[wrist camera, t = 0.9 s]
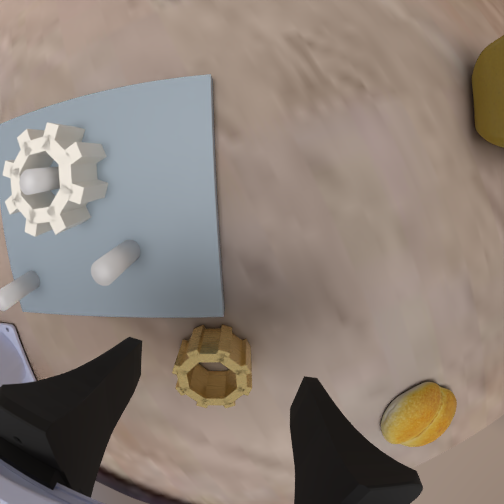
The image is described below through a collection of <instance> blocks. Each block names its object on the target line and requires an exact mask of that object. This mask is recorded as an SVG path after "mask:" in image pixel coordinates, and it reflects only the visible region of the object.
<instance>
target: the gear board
mask: <svg viewBox="0 0 504 504" xmlns="http://www.w3.org/2000/svg"><path fill="white" fill-rule="evenodd" d="M47 122H49V123H56V124H62V125H69V126H75V127H79V128H83V129H85V132H84V135H83V138H82V142H86V143H97V144H102V147H103V149H104V151H105V154H106V156H107V157H106V158H104V159H103V160H101V161H99V162H98V163H96V165H97V179H98V180H101V181H104V182H107V183H108V187H107V190H106V194H105V198H101V199H98V200H94V201H91V202H88V203H87V205H86V207H87V209H88V212H89V214H90V216H91V218H89V219H88V220H86V221H85V222H83V223H82V224H79V225H77V226H75V227H72V228H70V229H68V230H66V231H63V232H61V233H59V234H56V235H55V233H54V231H53V230H50V231H48V232H45V233H43V234H41V235H38V236H36V237H35V236H32V235H30V234H28V233H26V232H25V224H26V218H25V217H24V216H23V214H22V213H21V212H17V213H14V214H11V215H10V214H9V211H8V209H7V206H6V204H5V201H6V200H7V199H8V198H9V197H10V196H11V195H12V191H11V178H8V177H6V176H3V170H4V164H5V160H15V159H16V157H17V155H18V153H19V152H20V150H21V149H20V146H19V143H18V140H17V137H18V136H19V135H21V134H22V133H23V132H24V131H25V130H26V129H36V130H45V128H46V124H47ZM19 184H20V189H21V191H22V192H23V193H24V194H25V195H31V194H36V193H40V192H45V191H51V192H52V193H53V194H54V195H55V196H56V194H57V193H58V191H59V189H60V180H59V165H58V163H57V162H56V161H55V160H54V161H53V162H52V164H51V166H50V167H46V168H35V169H27V170H25V171H23V173H22V174H21V176H20V181H19ZM0 205H1V213H2V221H3V227H4V234H5V240H6V245H7V250H8V255H9V260H10V265H11V269H12V274H13V278H14V281H12V282H11V283H9V284H7V285H6V286H4V287H3V288H1V289H0V310H1V311H6V310H7V309H9V308H10V307H11V306H13V305H14V304H15V303H17V302H18V301H20V304H21V308H22V311H23V312H34V313H48V314H63V315H82V316H106V317H153V318H188V317H224V310H225V307H224V295H223V281H222V267H221V253H220V237H219V221H218V203H217V184H216V163H215V139H214V110H213V79H212V76H211V74H209V75H198V76H189V77H180V78H172V79H165V80H158V81H152V82H146V83H140V84H135V85H129V86H124V87H119V88H115V89H110V90H106V91H101V92H97V93H93V94H89V95H85V96H81V97H78V98H74V99H71V100H67V101H64V102H60V103H57V104H54V105H51V106H48V107H45V108H42V109H39V110H36V111H33V112H30V113H27V114H25V115H22V116H19V117H17V118H14V119H11V120H9V121H6V122H4V123H2V124H0Z"/></svg>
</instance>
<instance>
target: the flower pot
mask: <svg viewBox="0 0 504 504" xmlns="http://www.w3.org/2000/svg"><path fill="white" fill-rule="evenodd" d="M472 88H473V98H474V115H475V128H476V131H477V132H478V133H479V134H480V135H481V136H482V137H483V138H484V139H485V140H486V141H488V142H490V143H492V144H494V145H497V146H499V147H503V148H504V35H503V36H502V37H500V38H499V39H497V40H495V41H494V42H493V43H491V44H490V45H488V46H487V47H486V48H485V49H484V50H483V51H482V53H481V54H480V56H479V57H478V59H477V61H476V64H475V67H474V70H473V74H472Z"/></svg>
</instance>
